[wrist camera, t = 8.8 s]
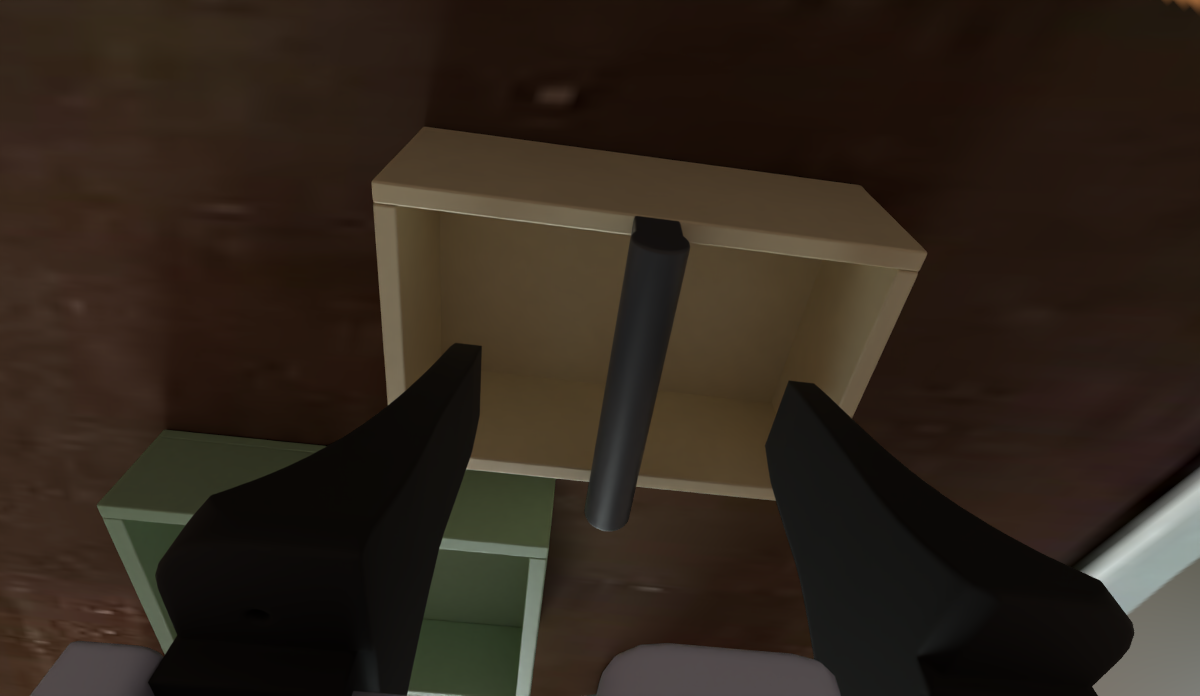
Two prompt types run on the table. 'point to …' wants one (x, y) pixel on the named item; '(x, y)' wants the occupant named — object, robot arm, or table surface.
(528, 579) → the sage bin
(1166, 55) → the table surface
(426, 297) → the cream bin
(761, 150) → the table surface
